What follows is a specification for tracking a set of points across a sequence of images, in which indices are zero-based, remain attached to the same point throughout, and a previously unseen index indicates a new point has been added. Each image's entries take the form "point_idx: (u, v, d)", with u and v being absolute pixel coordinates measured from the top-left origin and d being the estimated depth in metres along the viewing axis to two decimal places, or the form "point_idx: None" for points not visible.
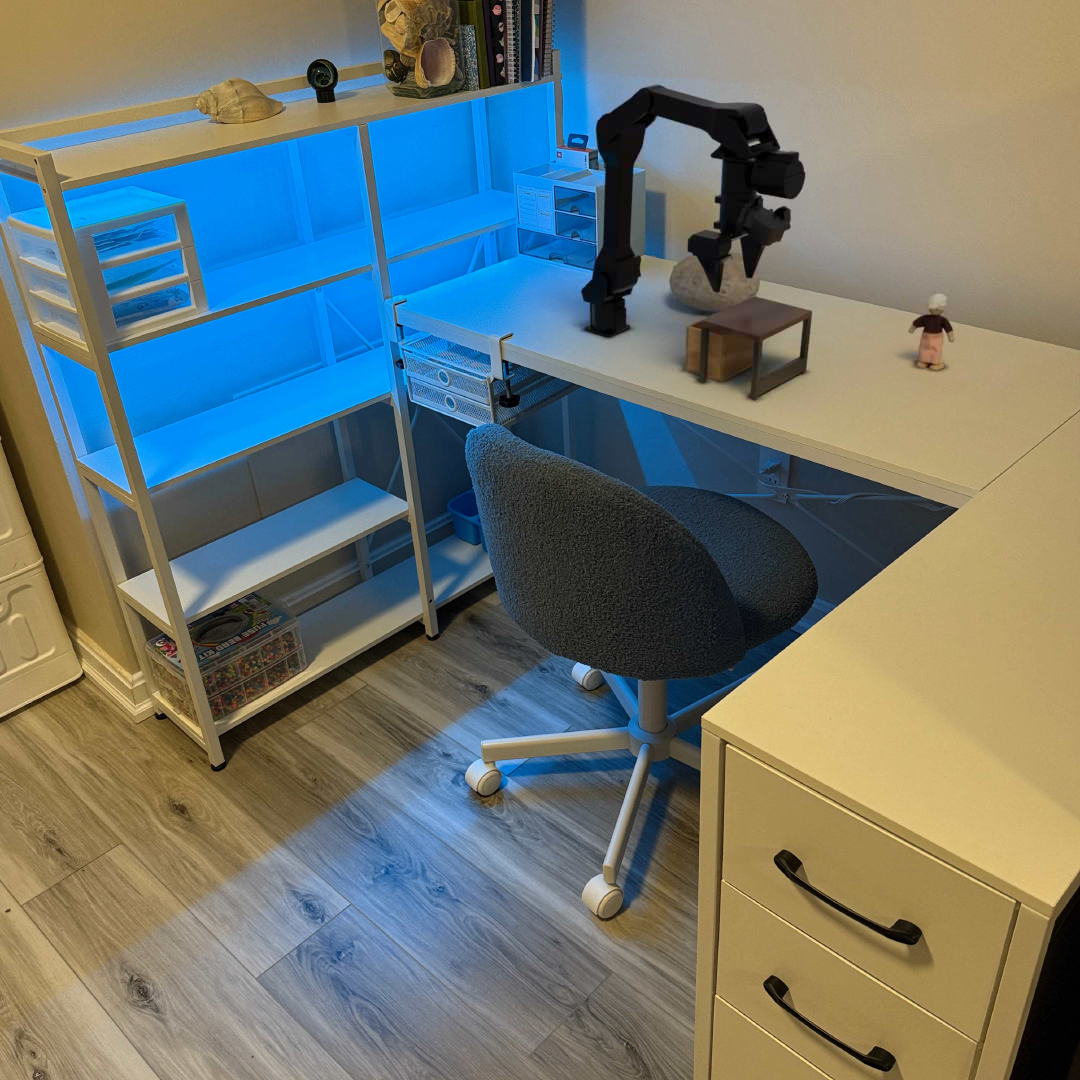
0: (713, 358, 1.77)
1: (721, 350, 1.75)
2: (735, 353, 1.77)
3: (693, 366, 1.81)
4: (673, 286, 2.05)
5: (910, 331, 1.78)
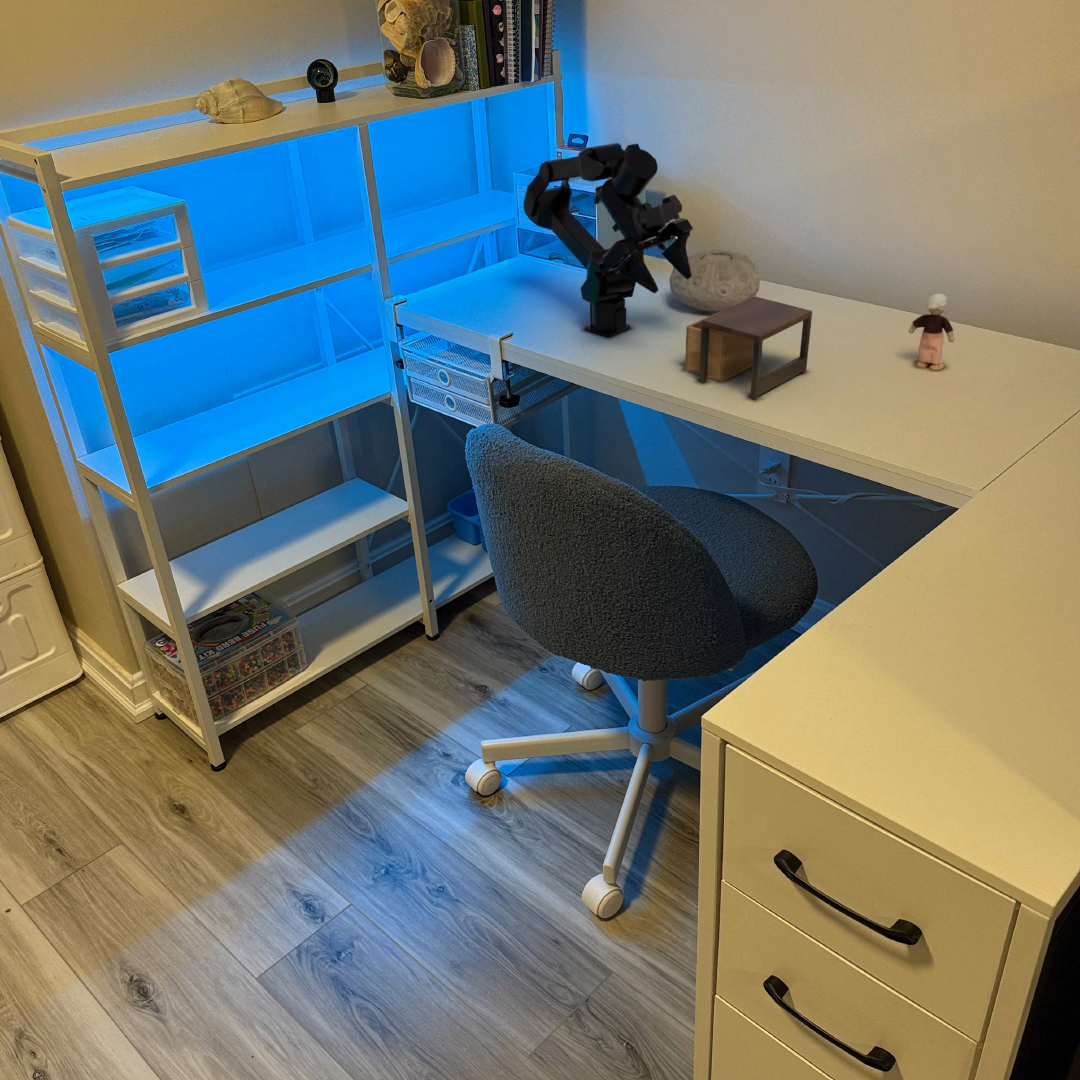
0: (713, 358, 1.77)
1: (721, 350, 1.75)
2: (735, 353, 1.77)
3: (693, 366, 1.81)
4: (673, 286, 2.05)
5: (910, 331, 1.78)
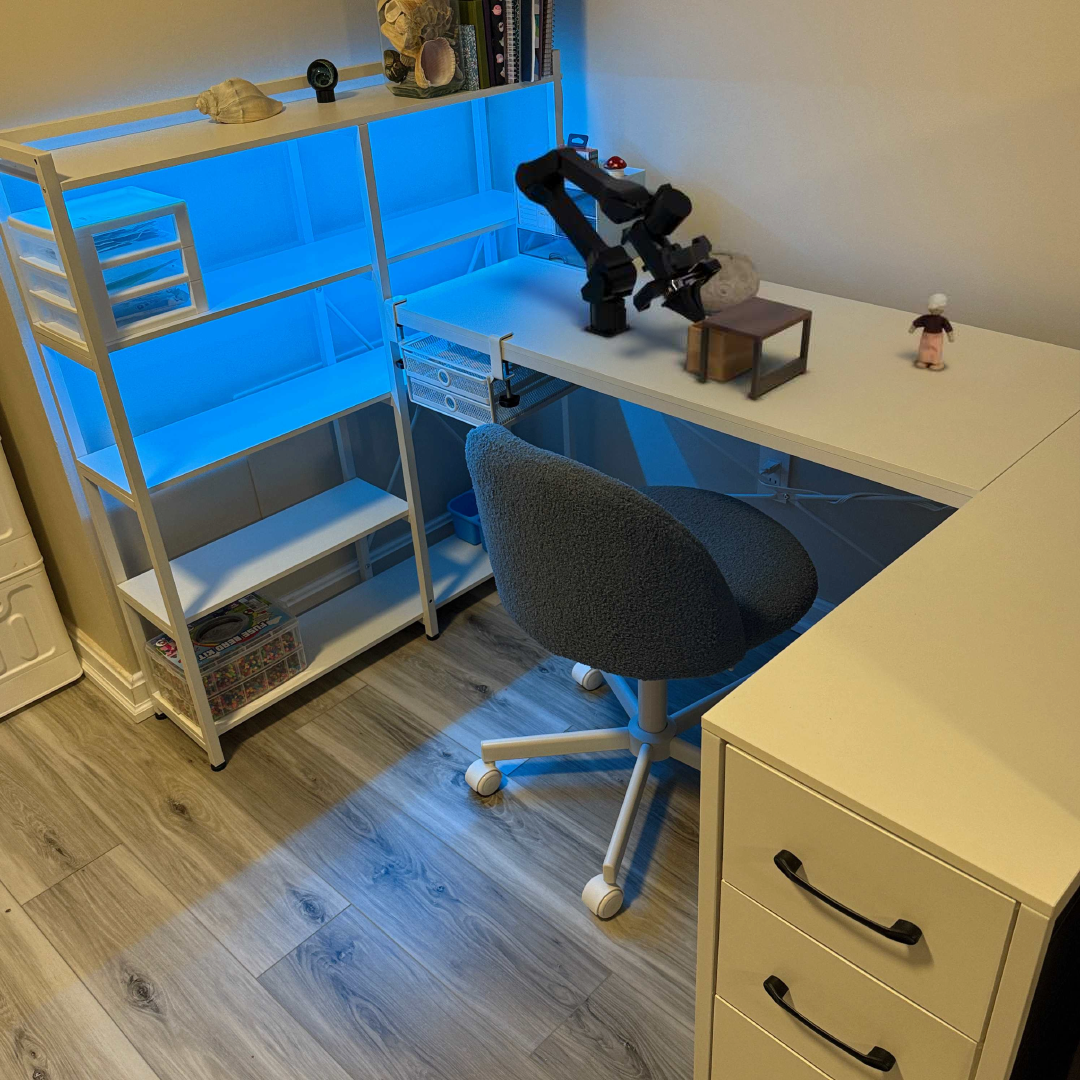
0: (714, 358, 1.77)
1: (722, 350, 1.75)
2: (736, 353, 1.77)
3: (694, 366, 1.81)
4: None
5: (910, 331, 1.78)
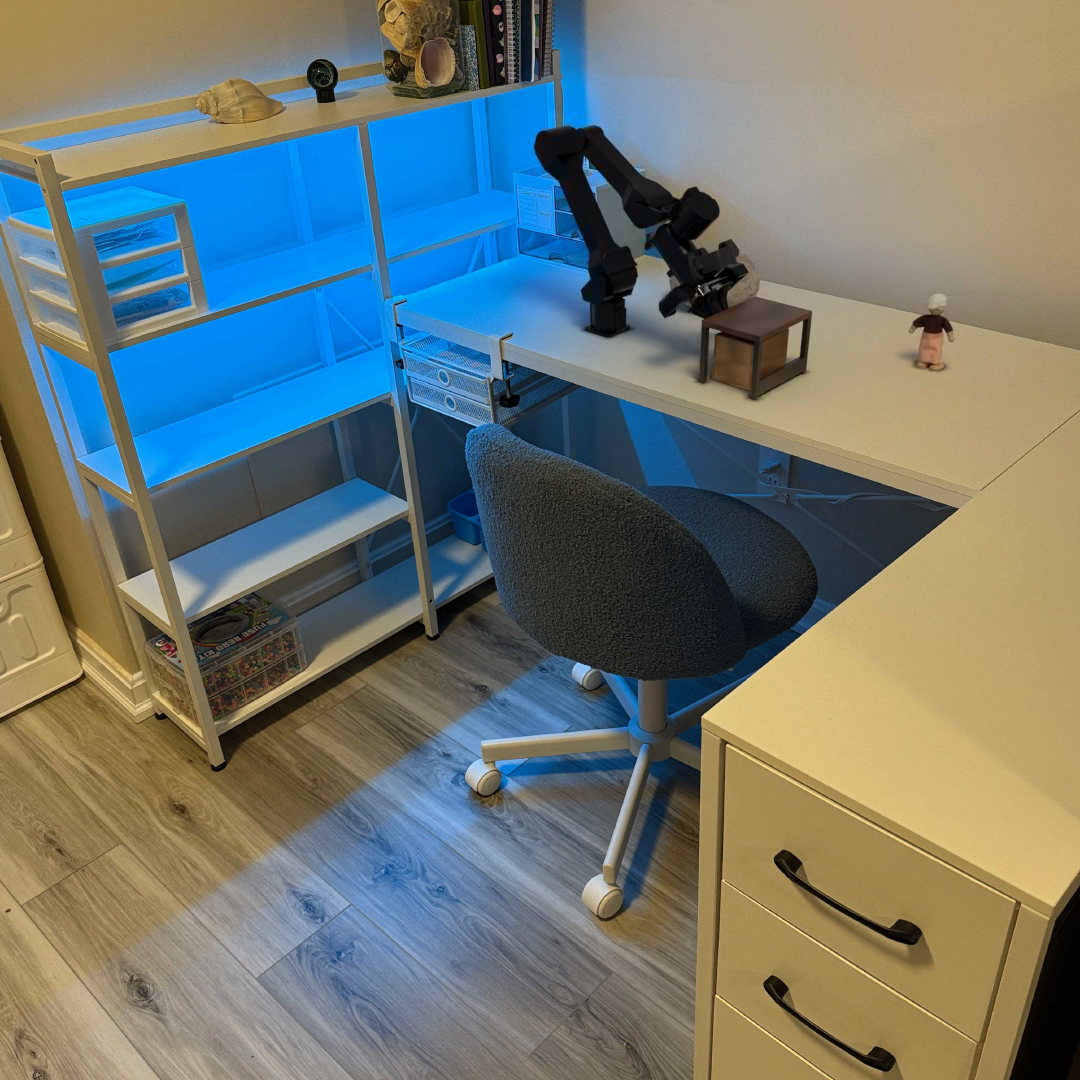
0: (742, 367, 1.73)
1: (750, 359, 1.71)
2: (764, 362, 1.74)
3: (721, 375, 1.77)
4: (673, 286, 2.05)
5: (910, 331, 1.78)
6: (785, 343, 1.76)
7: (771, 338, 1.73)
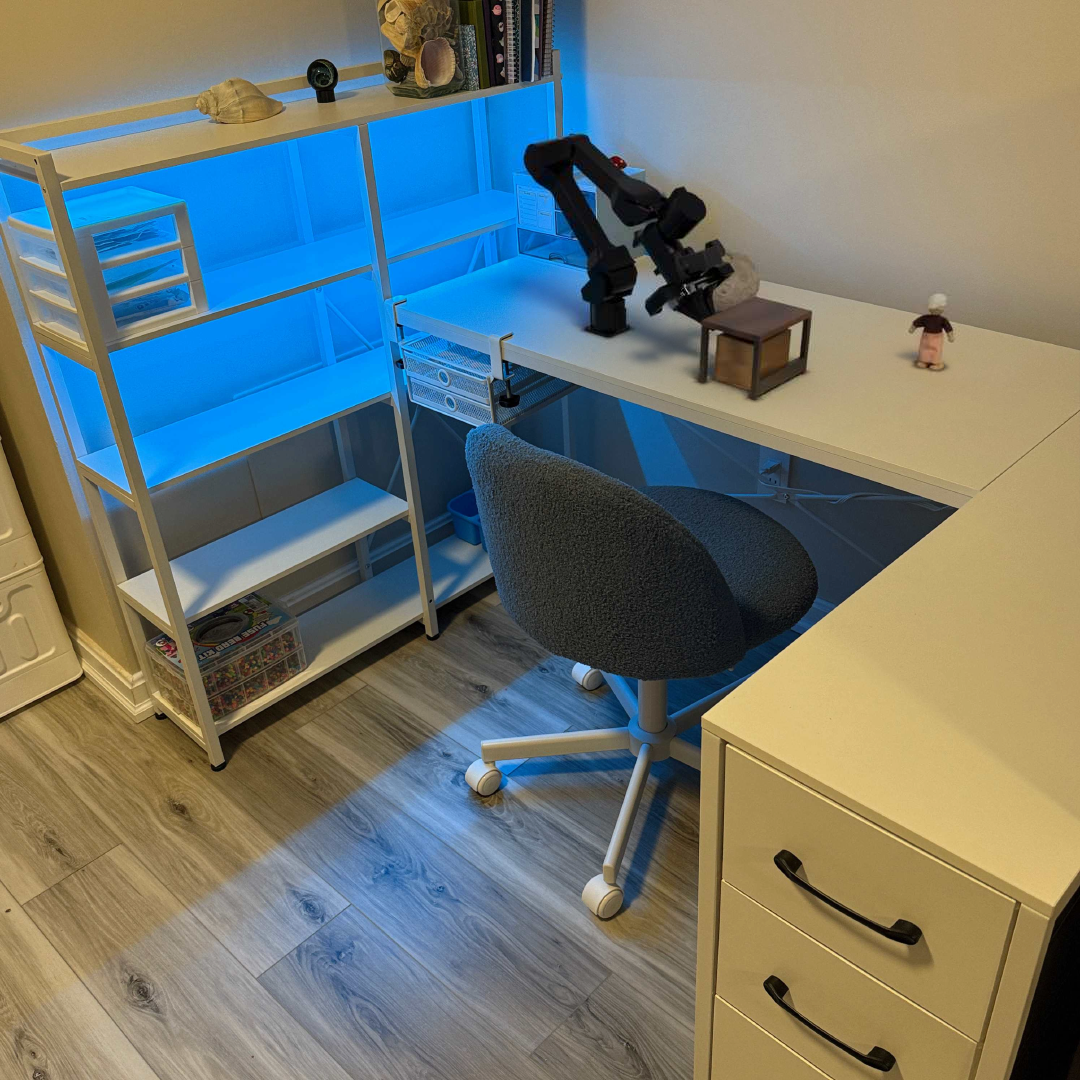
0: (744, 367, 1.73)
1: None
2: (767, 362, 1.73)
3: (723, 376, 1.77)
4: None
5: (910, 331, 1.78)
6: (787, 343, 1.76)
7: (773, 339, 1.72)
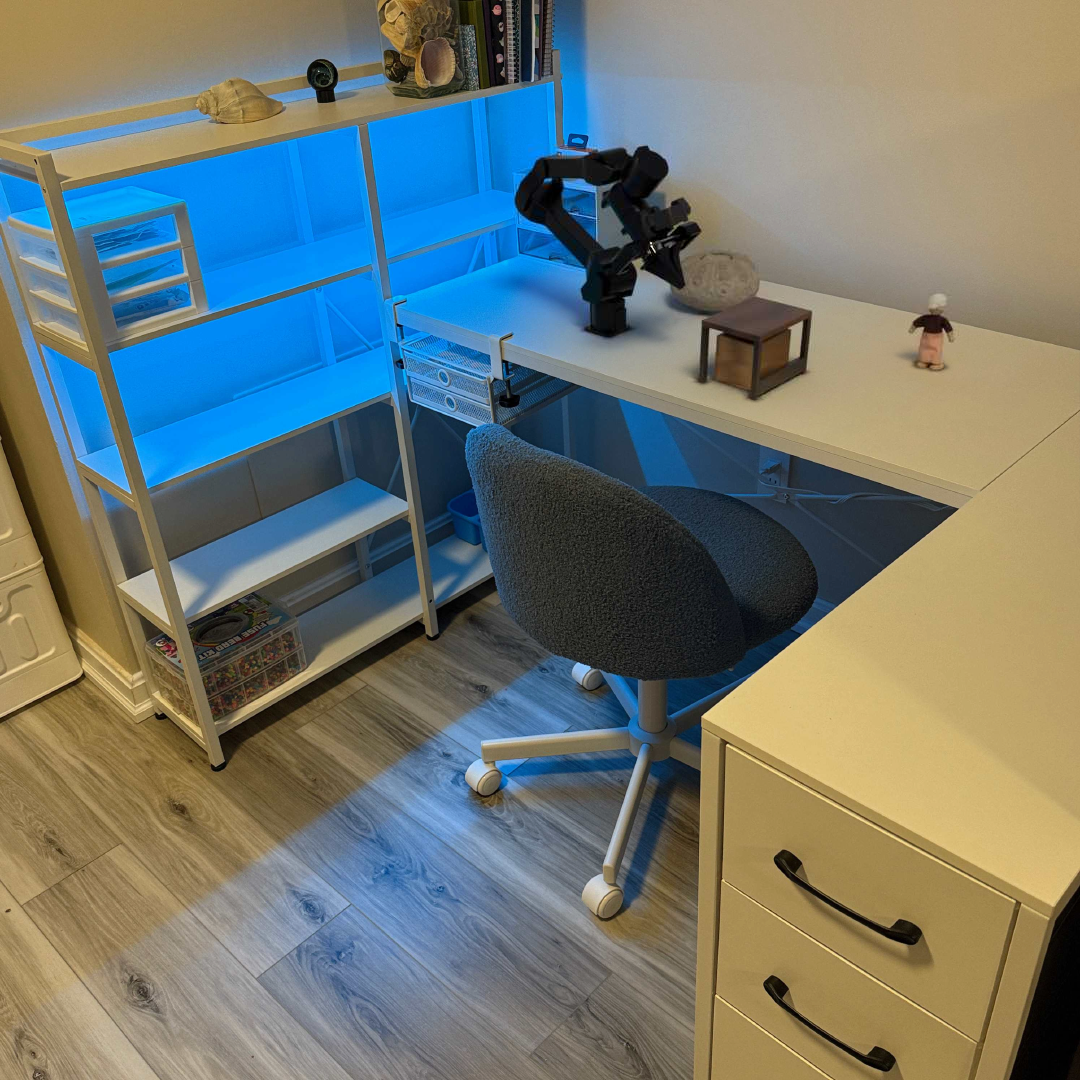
0: (744, 367, 1.73)
1: None
2: (767, 362, 1.73)
3: (723, 376, 1.77)
4: (673, 286, 2.05)
5: (910, 331, 1.78)
6: (787, 343, 1.76)
7: (773, 339, 1.72)
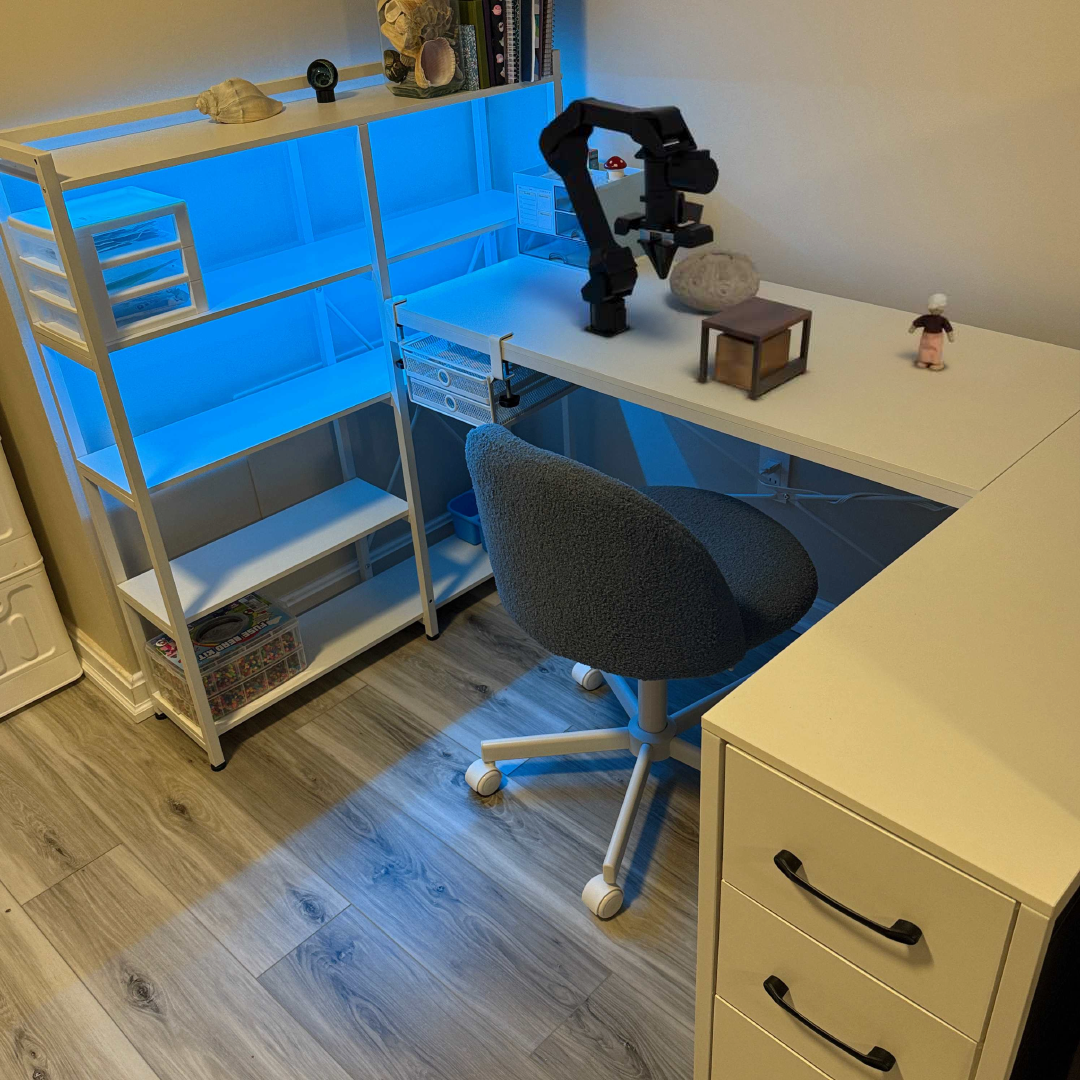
0: (744, 367, 1.73)
1: None
2: (767, 362, 1.73)
3: (723, 376, 1.77)
4: (673, 286, 2.05)
5: (910, 331, 1.78)
6: (787, 343, 1.76)
7: (773, 339, 1.72)
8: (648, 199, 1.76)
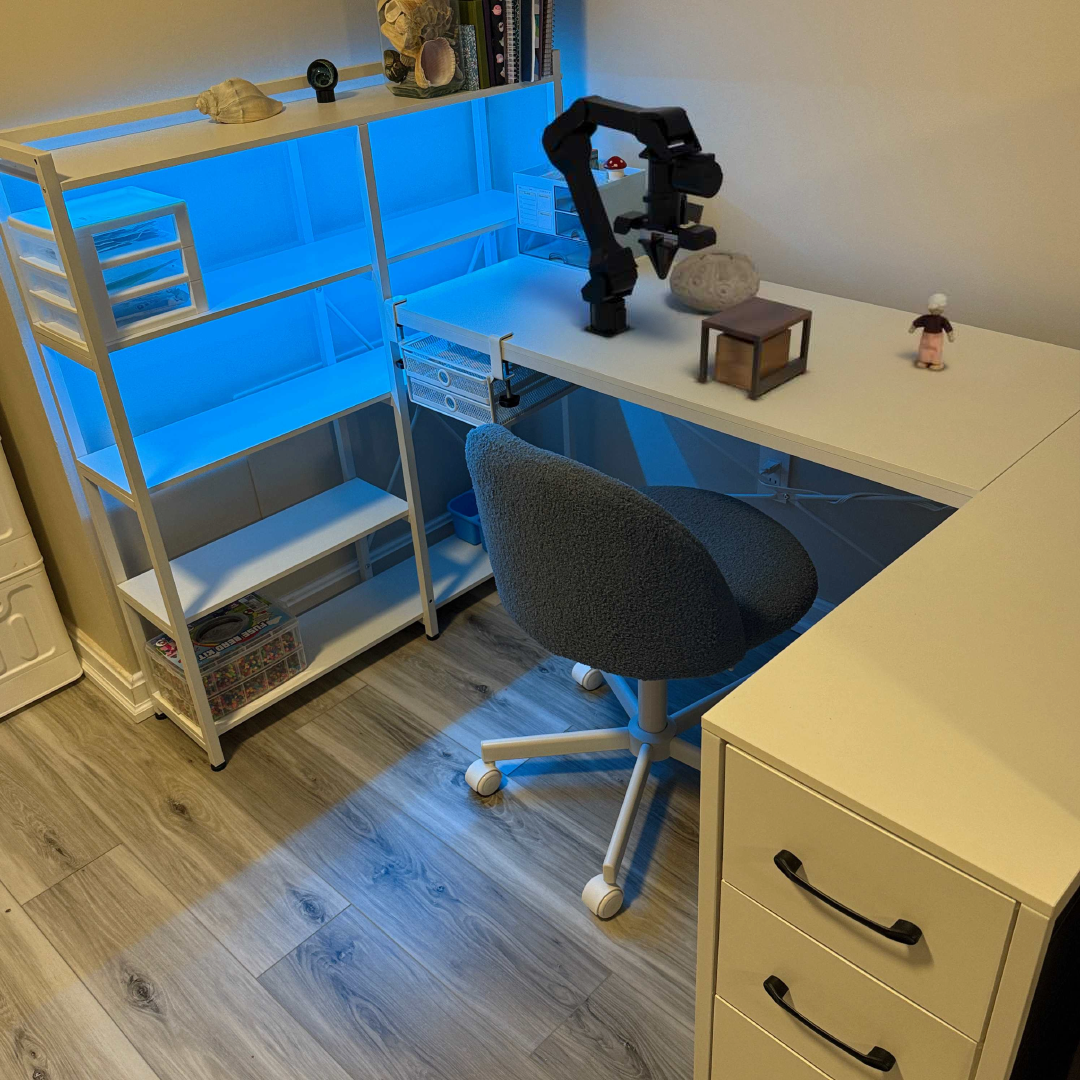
0: (744, 367, 1.73)
1: None
2: (767, 362, 1.73)
3: (723, 376, 1.77)
4: (673, 286, 2.05)
5: (910, 331, 1.78)
6: (787, 343, 1.76)
7: (773, 339, 1.72)
8: (652, 199, 1.75)
